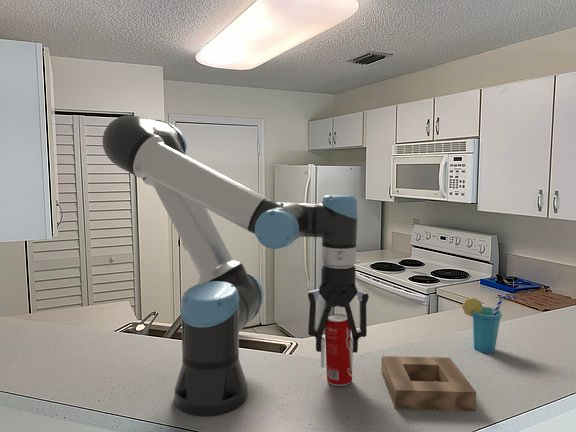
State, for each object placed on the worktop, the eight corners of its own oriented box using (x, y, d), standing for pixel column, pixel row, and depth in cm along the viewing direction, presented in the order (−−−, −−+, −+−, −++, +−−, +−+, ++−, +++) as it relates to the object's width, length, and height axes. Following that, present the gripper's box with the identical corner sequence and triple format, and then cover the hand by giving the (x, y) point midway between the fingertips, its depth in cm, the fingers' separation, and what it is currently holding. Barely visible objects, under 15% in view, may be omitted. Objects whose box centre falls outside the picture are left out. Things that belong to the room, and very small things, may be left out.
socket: (395, 408, 89) (395, 390, 88) (381, 372, 105) (381, 356, 104) (475, 411, 88) (476, 392, 88) (449, 373, 104) (449, 357, 104)
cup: (503, 342, 123) (506, 290, 121) (520, 354, 115) (524, 298, 114) (455, 344, 122) (458, 291, 120) (469, 356, 114) (472, 300, 112)
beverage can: (351, 388, 96) (353, 322, 95) (321, 385, 98) (323, 320, 96) (352, 376, 102) (354, 314, 101) (325, 373, 104) (326, 311, 102)
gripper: (296, 267, 94) (294, 371, 96) (383, 269, 93) (380, 374, 96) (296, 260, 101) (295, 356, 104) (378, 262, 100) (374, 359, 103)
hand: (336, 364), depth 100 cm, fingers closed on beverage can, 6 cm apart
